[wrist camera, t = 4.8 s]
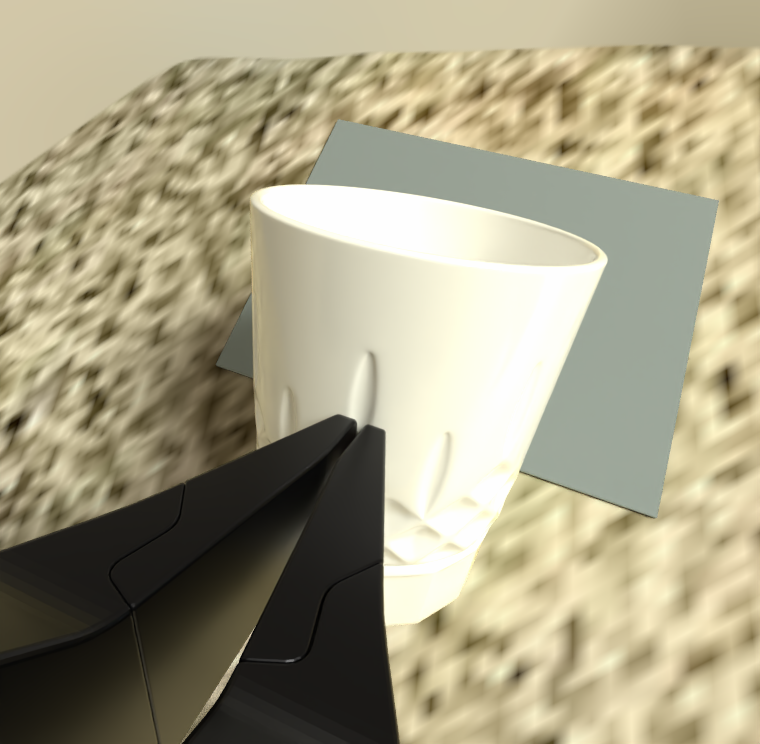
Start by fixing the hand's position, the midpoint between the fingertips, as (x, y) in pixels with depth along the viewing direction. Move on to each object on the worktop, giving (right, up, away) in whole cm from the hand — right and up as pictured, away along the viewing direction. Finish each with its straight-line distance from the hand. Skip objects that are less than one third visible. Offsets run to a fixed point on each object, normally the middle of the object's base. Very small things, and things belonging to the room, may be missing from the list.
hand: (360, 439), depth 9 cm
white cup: (0, -4, +6) cm, 7 cm away
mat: (+4, +5, +11) cm, 13 cm away
